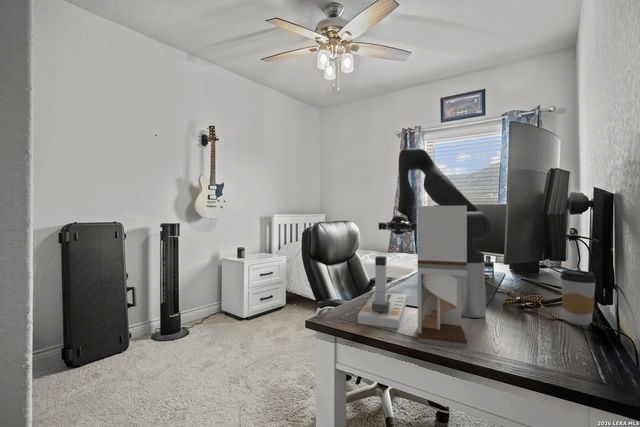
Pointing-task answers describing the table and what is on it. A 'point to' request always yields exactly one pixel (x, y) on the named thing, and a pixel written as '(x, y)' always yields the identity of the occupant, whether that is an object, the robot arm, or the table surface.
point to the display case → (441, 274)
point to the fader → (381, 285)
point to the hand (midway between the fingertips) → (395, 226)
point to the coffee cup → (578, 296)
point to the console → (384, 318)
